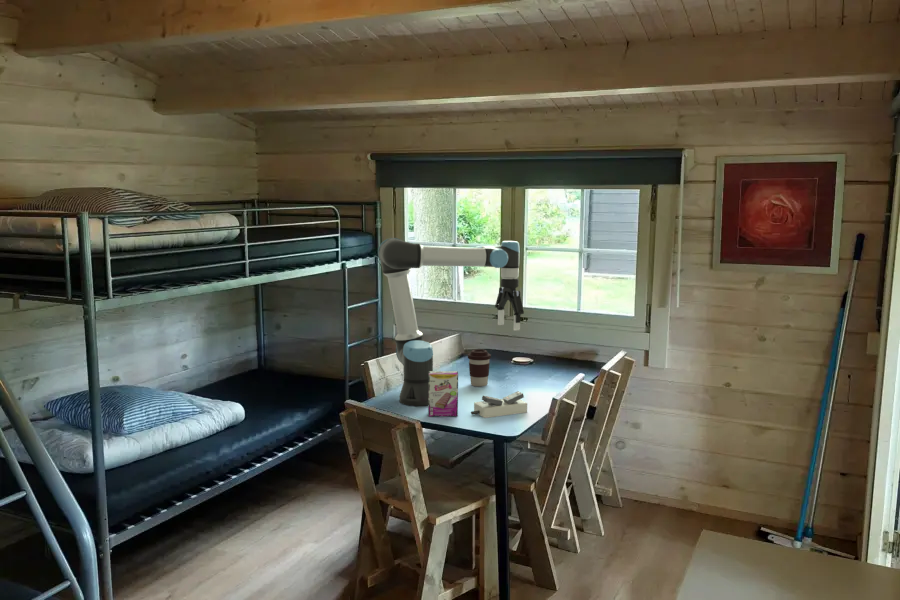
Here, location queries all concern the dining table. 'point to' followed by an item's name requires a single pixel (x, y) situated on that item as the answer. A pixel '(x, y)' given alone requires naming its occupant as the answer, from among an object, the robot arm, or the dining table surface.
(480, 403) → the power strip
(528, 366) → the dining table surface
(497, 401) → the rocker
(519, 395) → the rocker
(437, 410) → the candy bar box
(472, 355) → the coffee cup
